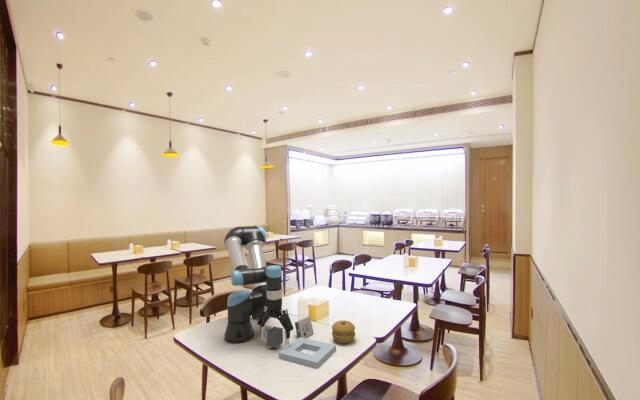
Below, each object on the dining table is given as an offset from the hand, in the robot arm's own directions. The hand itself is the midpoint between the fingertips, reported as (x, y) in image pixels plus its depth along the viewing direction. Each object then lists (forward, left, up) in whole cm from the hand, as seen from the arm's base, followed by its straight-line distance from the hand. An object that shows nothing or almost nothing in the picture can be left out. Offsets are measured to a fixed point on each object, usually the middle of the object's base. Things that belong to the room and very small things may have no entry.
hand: (275, 342), depth 149 cm
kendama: (-31, +30, -3) cm, 43 cm away
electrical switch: (+6, +17, -3) cm, 18 cm away
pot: (+27, +21, -3) cm, 34 cm away
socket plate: (+18, +1, -3) cm, 18 cm away
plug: (0, 0, -3) cm, 3 cm away
